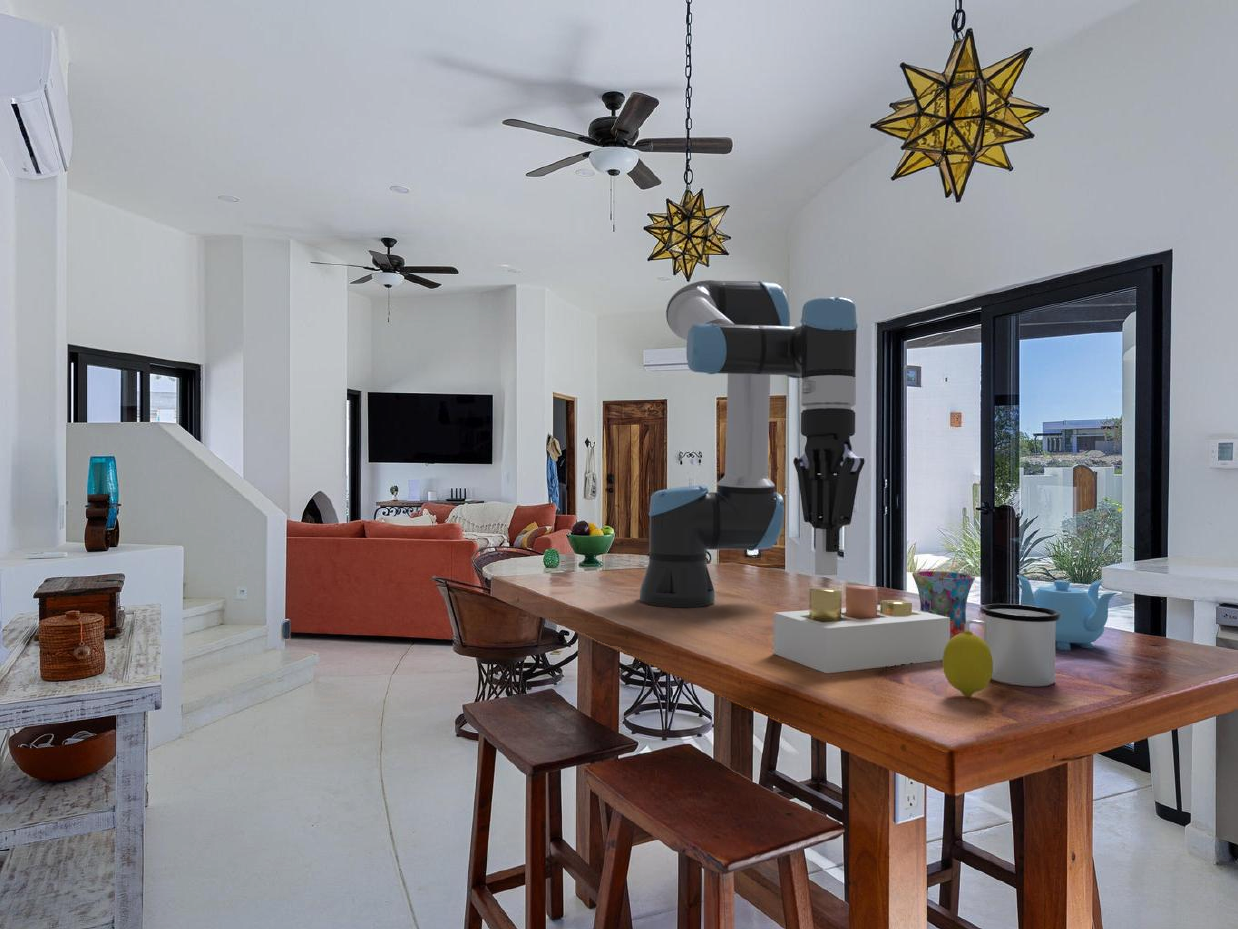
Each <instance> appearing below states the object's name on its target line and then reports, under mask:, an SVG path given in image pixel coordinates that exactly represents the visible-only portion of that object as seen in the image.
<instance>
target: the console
mask: <svg viewBox="0 0 1238 929" xmlns="http://www.w3.org/2000/svg"><path fill="white" fill-rule="evenodd" d="M949 640H950V618H949V617H945V616H940V615H936V614H932V613H927V612H923V611H920V610H917V609H914V608H912V615H909V616H897V617H894V616H890V615H886V614H882V613H880V604H877V618H872V619H860V620H859V619H855V618H852V617H848V616H846V606H845V607H841V621H836V622H824V623H822V622H818V621H815V620H811V619H809V609H806V610H793V611H792V610H791V611H780V612H779V611H778V612H773V654H774V655H777V656H779V657H782V658H784V659H787V660H789V661H793V662H794V663H798V664H801V665H803V666H805V667H809V668H812V669H813V670H817V671H819V672H822V673H825V674H833V673H842V672H843V673H844V672H850V671H851V672H852V671H859V670H868V669H877V668H886V666H887V667H892V666H893V667H895V665H896V666H902V665H901V664H905V665H910V663H913V664H920V663H921V664H923V663H929V662H930V663H931V662H938V661H943V655H944V650H945V647H946V645H947V643H948V642H949Z"/></svg>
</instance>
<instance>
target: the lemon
mask: <svg viewBox="0 0 1238 929" xmlns="http://www.w3.org/2000/svg"><path fill="white" fill-rule="evenodd" d="M942 670H943V674H944V676H945V678H946V681H948V683H949V684H950V686H952V687H953V688H954V689H956V690H958V691H959V692H960V693H961V694H962V695H963V696H964V697H966V698H970V697H972V696H973V695H974V694H975V693H977V692H981V691H982V690H985V688H986V687H987V686H988V685H989V683H990V682H991V680H992V679H991V677H992V673H993V660H992V655H991V651H990V649H989V647H988V645H987V643H986V642H985V641H984V639H983V638H981V636H978V635H977V634H974V633H973V631H972V630H969V631H968V630H966V631H964V632H963V633H961V634H958V635H956V636H954V637H953V638H951V639H950V640H949V642H948V643H947V645H946V647H945V650H944V655H943V660H942Z"/></svg>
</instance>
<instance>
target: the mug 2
mask: <svg viewBox="0 0 1238 929" xmlns="http://www.w3.org/2000/svg"><path fill="white" fill-rule="evenodd" d="M979 612H980V613H981V614H982V615H984V620H980V619H978V620H977V619H970V620H966V623H965V631H966V630H968V631H970V625H971V624H976V625H980V626H984V627H983V628H984V631H983V633H984V634H983V636H984V637H983V638H984V639H983V640H984V641H985V642H986V643H987V645H988V647H989V649H990V651H991V655H992V660H993V673H992V677H991V680H993V681H994V682H998V683H1002V684H1005V685H1011V686H1018V687H1029V688H1031V687H1034V688H1037V687H1038V688H1039V687H1040V688H1041V687H1046V686H1048V687H1049V686H1050V685H1052V684H1054V683H1055V682H1056V641H1055V636H1056V621H1057V620H1059V619H1060V618H1061V615H1060V613H1059V612H1057V611H1055V610H1051V609H1047V608H1042V607H1036V606H1028V605H1021V604H1013V603H992V604H991V603H989V604H983V605H981V606H980V609H979Z"/></svg>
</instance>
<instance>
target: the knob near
mask: <svg viewBox="0 0 1238 929" xmlns="http://www.w3.org/2000/svg"><path fill="white" fill-rule="evenodd" d="M842 595H843V592H842V590H841V589H839V588H833V587H811V588H809V609H808V610H809V619H811V620H815V621H818V622H822V623H824V622H836V621H841V608H842Z"/></svg>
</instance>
